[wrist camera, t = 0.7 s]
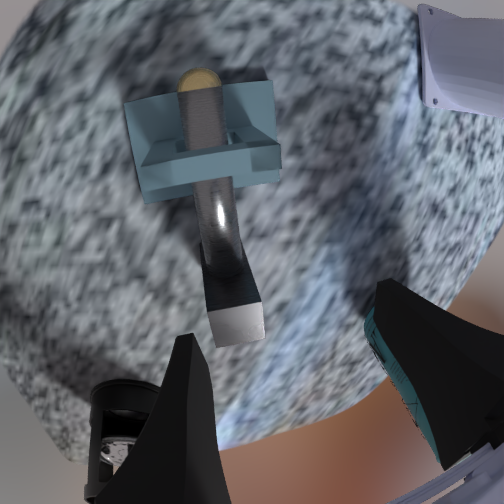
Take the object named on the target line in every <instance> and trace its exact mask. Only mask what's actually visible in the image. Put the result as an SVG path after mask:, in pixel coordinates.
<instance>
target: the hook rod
mask: <svg viewBox="0 0 504 504" xmlns="http://www.w3.org/2000/svg"><path fill="white" fill-rule="evenodd" d="M177 96H178V103H179V110H180V117H181V124H182V131H183V137H184V144H185V150H186V151H191V150H197V149H203V148H209V147H215V146H222V145H229V143H228V134H227V126H226V117H225V109H224V100H223V91H222V83H221V80H220V78H219V77H218V75H217V74H216V73H215V72H213V71H212V70H210V69H207V68H194V69H191V70H189V71H187V72H186V73H185V74H183V75H182V77H181V78H180V80H179V82H178V85H177ZM191 186H192V191H193V197H194V203H195V208H196V213H197V219H198V224H199V229H200V235H201V240H202V243H200V253H201V263H202V273H203V282H204V291H205V300H206V308H207V314H208V318H209V322H210V326H211V330H212V334H213V337H214V341H215V345H216V348H219V347H224V346H230V345H235V344H240V343H245V342H250V341H255V340H260V339H265V331H264V320H263V310H262V301H261V298H260V295H259V292H258V289H257V286H256V283H255V280H254V278H253V275H252V272H251V269H250V266H249V263H248V260H247V257H246V254H245V251H244V248H243V245H242V242H241V239H240V234H239V226H238V218H237V210H236V201H235V193H234V185H233V177H232V176H227V177H221V178H215V179H209V180H203V181H197V182H192V183H191Z"/></svg>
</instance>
